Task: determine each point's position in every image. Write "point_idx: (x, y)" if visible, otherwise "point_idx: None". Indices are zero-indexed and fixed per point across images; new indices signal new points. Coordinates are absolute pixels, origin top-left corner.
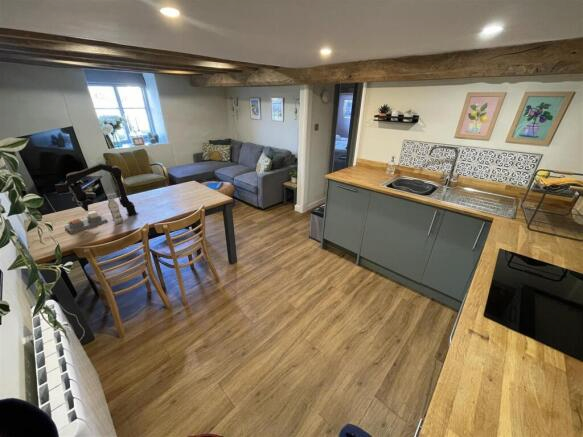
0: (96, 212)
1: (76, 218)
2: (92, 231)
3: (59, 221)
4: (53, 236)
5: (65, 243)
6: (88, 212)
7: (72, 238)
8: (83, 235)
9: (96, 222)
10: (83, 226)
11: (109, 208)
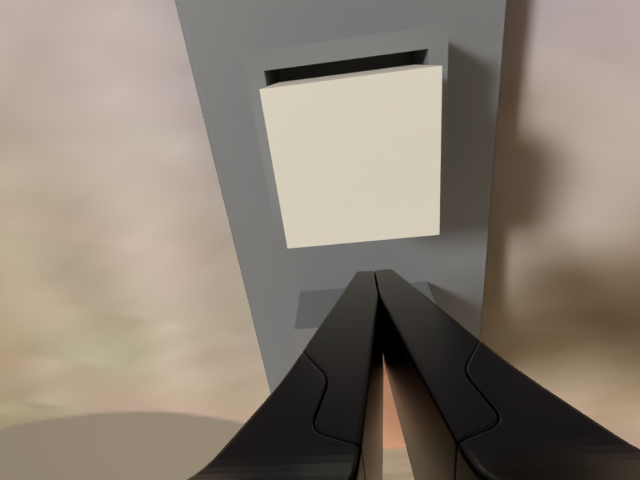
0: (441, 74)
1: None
2: (625, 235)
3: (31, 385)
4: (384, 463)
5: (631, 441)
6: (291, 225)
7: (586, 394)
8: (628, 322)
9: (486, 141)
10: (464, 297)
11: None
